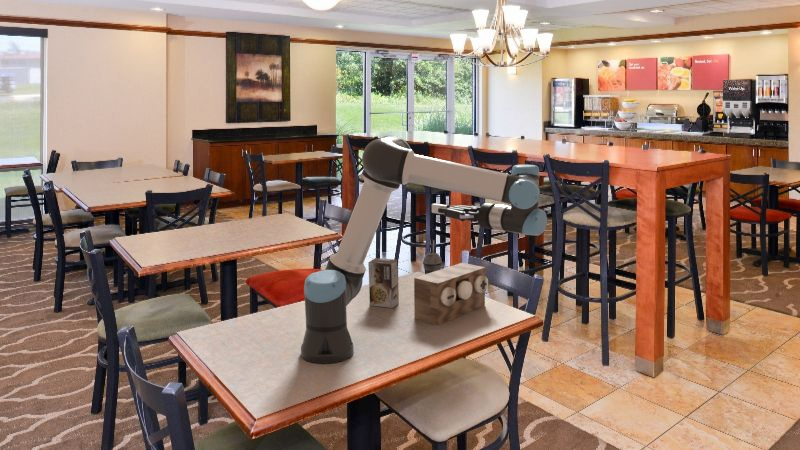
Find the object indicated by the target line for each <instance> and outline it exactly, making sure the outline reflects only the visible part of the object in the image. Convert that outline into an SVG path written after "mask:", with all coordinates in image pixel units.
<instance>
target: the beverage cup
mask: <svg viewBox="0 0 800 450" xmlns="http://www.w3.org/2000/svg"><path fill="white" fill-rule="evenodd" d="M422 260H423V262H422V264H423V268H424V275H425V274H428V273H431V272H434V271H438V270H441V269H442V267H443V265H442V264H443V261H442V257H441V256H440V254H438V252H435V240H434V239H432V251H430V252H427V253H426V254H425V255H424V257H423V259H422Z"/></svg>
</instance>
